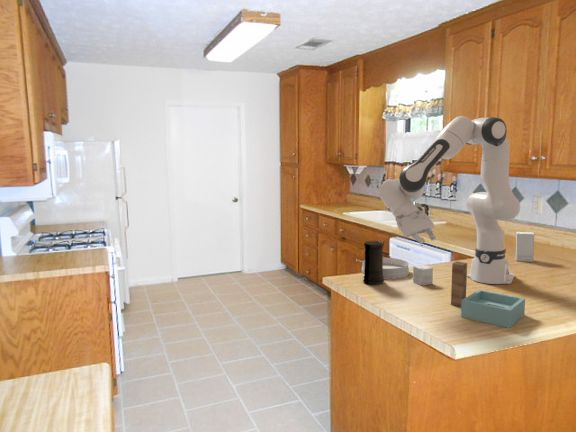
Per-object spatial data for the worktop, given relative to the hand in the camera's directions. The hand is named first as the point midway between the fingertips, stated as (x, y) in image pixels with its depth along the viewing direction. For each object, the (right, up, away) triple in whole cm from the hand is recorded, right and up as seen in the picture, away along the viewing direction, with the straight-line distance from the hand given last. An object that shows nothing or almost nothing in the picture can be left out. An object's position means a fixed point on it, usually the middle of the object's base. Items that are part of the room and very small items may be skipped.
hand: (428, 241), depth 177 cm
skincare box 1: (+4, -20, +23) cm, 31 cm away
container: (-17, -20, +25) cm, 36 cm away
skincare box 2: (+68, -14, +60) cm, 92 cm away
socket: (+17, -25, -18) cm, 35 cm away
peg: (+10, -24, -5) cm, 26 cm away
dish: (-8, -18, +41) cm, 46 cm away
